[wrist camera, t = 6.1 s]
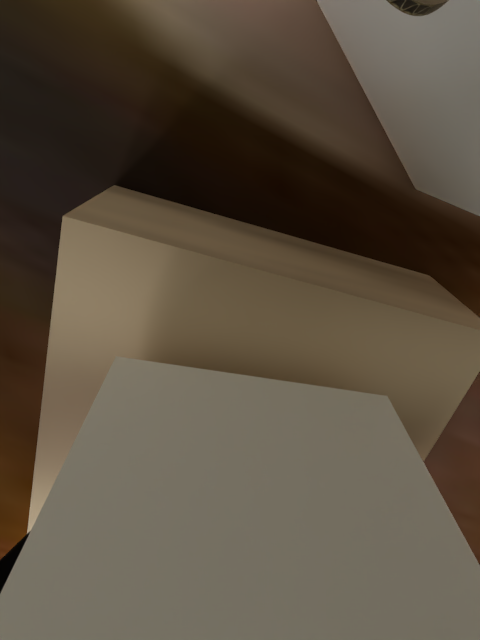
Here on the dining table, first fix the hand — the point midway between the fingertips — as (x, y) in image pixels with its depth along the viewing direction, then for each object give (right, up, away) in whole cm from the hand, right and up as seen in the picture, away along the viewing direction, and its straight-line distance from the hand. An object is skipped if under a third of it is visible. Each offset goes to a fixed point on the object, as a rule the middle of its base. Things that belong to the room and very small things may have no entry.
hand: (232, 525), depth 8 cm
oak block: (0, +3, +5) cm, 6 cm away
